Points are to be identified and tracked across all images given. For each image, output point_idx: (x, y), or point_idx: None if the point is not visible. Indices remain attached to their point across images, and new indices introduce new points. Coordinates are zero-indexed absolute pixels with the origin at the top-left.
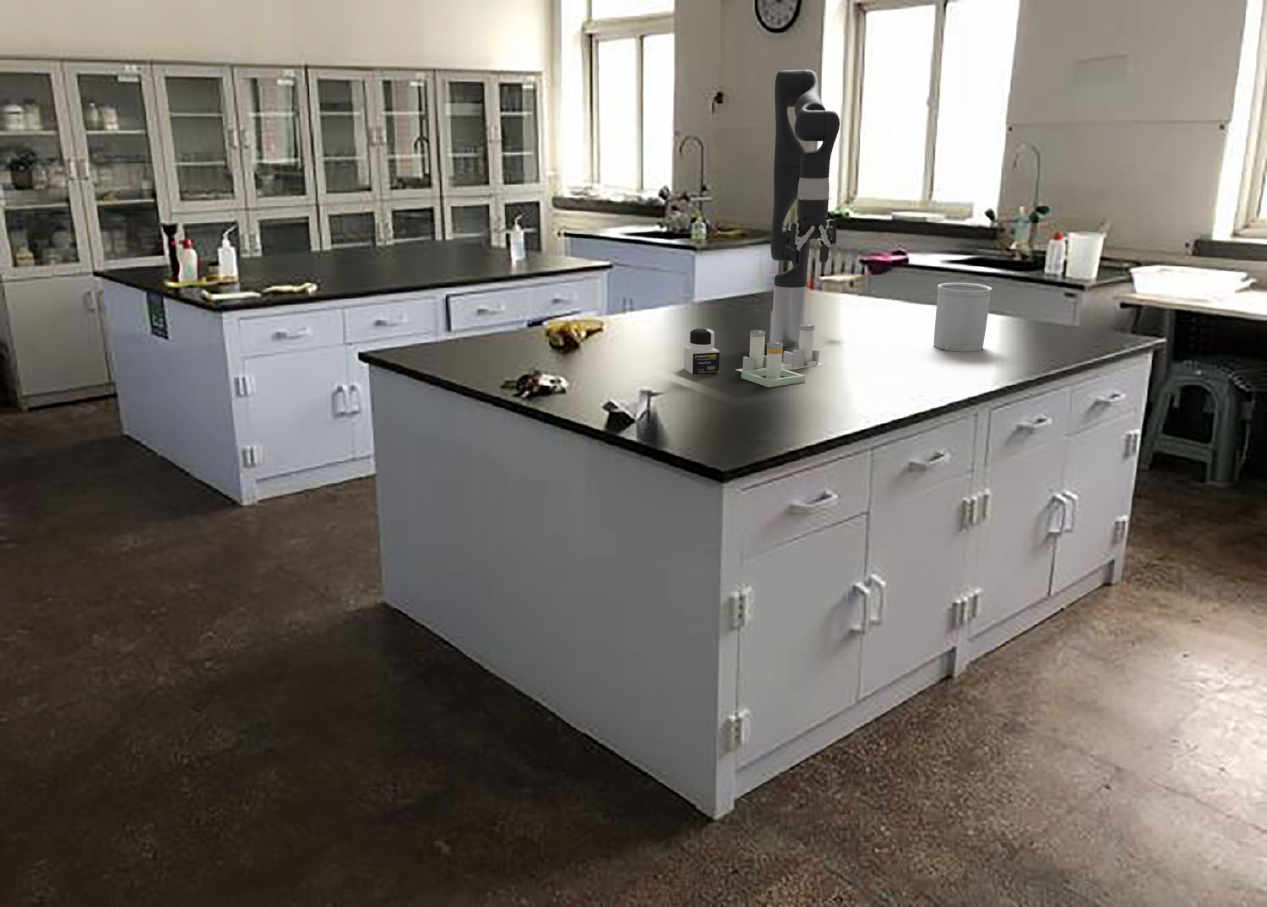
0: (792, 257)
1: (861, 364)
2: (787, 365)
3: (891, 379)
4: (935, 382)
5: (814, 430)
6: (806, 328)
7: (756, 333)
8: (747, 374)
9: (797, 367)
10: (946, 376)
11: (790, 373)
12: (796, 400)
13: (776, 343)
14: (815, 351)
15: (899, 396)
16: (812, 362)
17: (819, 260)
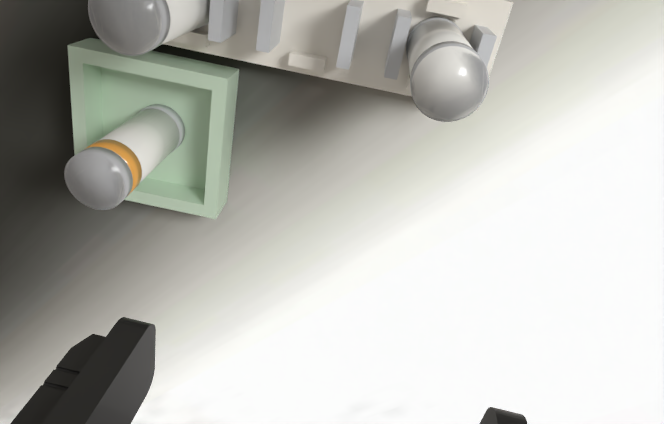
0: (48, 392)
1: (657, 134)
2: (301, 67)
3: (504, 302)
4: (552, 384)
5: (8, 394)
6: (414, 102)
7: (100, 37)
8: (71, 80)
9: (357, 70)
10: (645, 376)
11: (207, 163)
12: (116, 261)
13: (93, 192)
14: None
15: (351, 387)
16: None
17: (492, 412)
